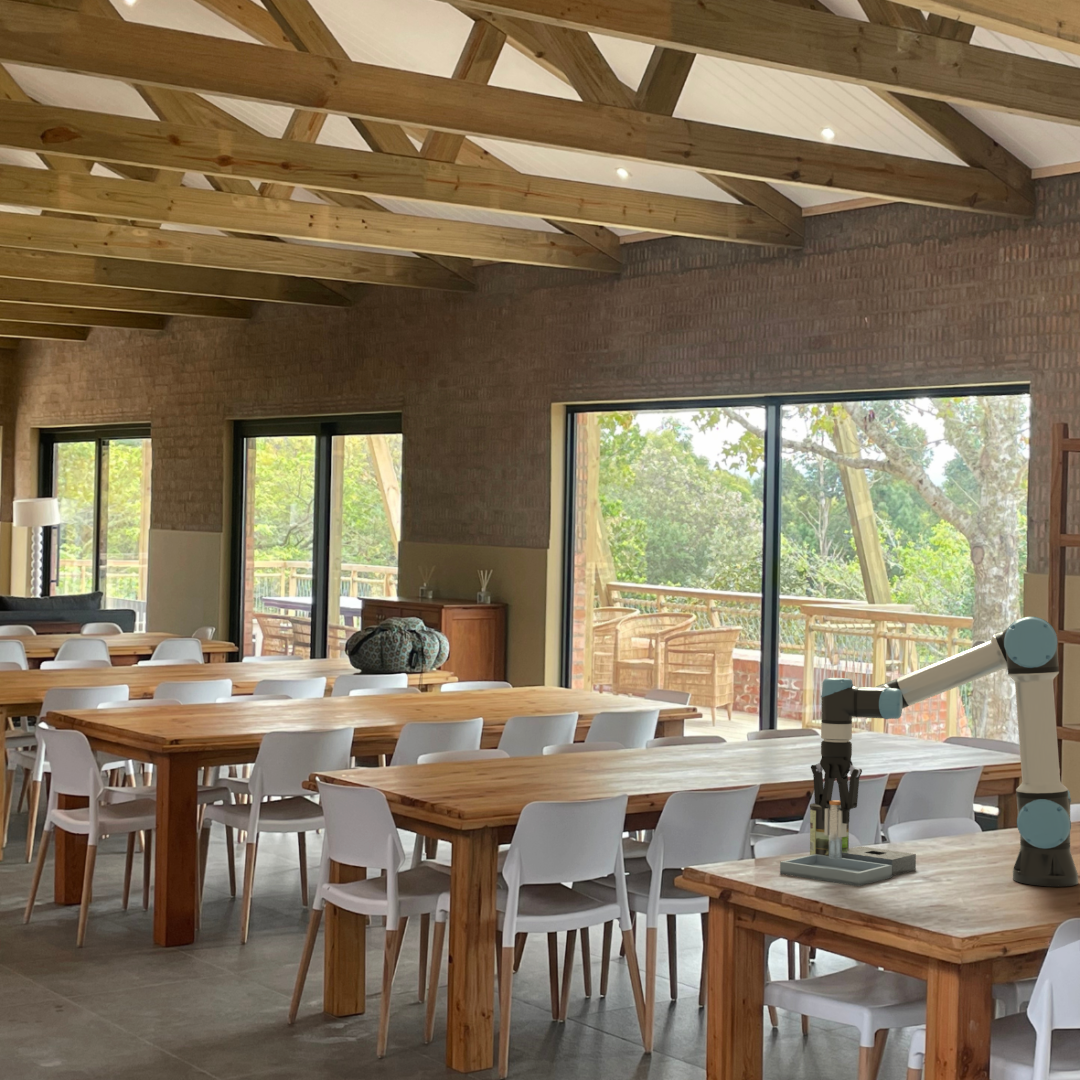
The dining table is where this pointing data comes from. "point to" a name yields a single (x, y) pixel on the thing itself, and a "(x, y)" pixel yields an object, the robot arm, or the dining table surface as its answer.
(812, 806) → the coffee can
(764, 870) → the dining table surface
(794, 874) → the parts tray
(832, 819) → the orange capped tube
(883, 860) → the block
